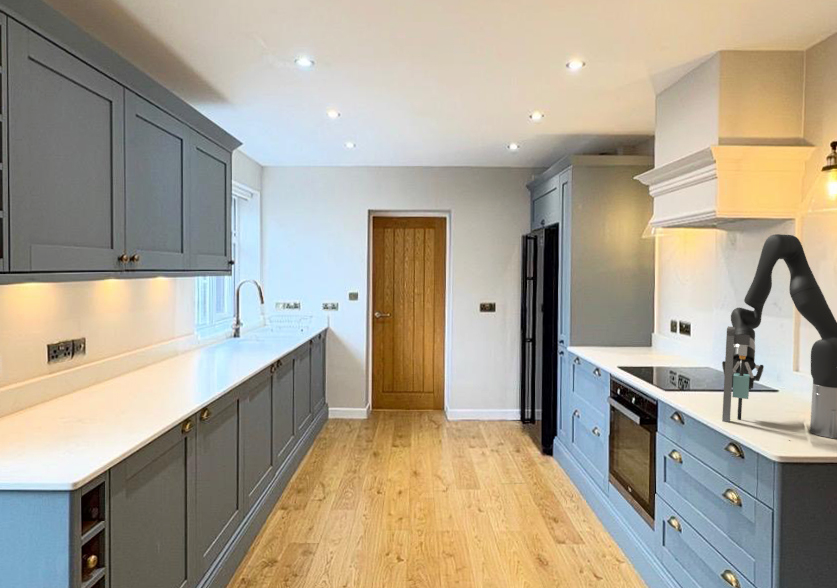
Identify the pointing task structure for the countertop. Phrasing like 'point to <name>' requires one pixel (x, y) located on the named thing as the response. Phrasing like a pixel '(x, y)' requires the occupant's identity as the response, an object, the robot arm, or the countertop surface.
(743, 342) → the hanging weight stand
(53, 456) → the countertop surface
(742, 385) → the sleeve
